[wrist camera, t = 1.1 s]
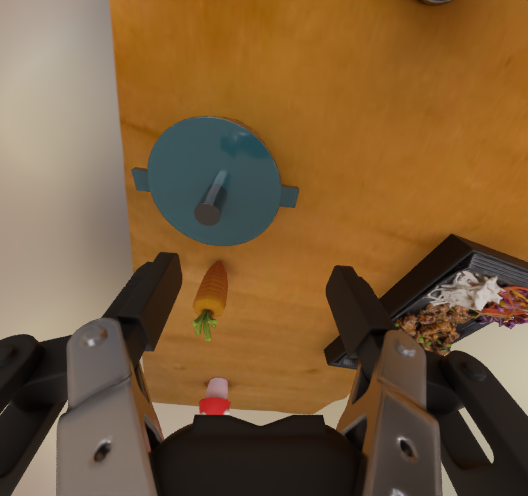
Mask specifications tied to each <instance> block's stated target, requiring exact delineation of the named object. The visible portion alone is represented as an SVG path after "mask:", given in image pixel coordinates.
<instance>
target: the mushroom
mask: <svg viewBox="0 0 528 496" xmlns="http://www.w3.org/2000/svg"><path fill="white" fill-rule="evenodd" d="M227 395H228V382H227V380H226V379H224V378H212V379H211V380H210V382H209V385H208V388H207V391H206V399H202V400H200V402H199V410H200V414H201V415H230V411H229V407H230V403H231V402H229V401H228V400H227V399H226V398H227Z"/></svg>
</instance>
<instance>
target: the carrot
mask: <svg viewBox="0 0 528 496" xmlns="http://www.w3.org/2000/svg"><path fill="white" fill-rule="evenodd" d="M227 290H228V281H227V273H226V270H225V268H224V266H223V264H222V262H216V263H215V264H213V265H212V266H211V267H210V268H209V270H208V271H207V273H206V275H205V276H204V278H203V280H202V282H201V285H200V287H199V290H198V292H197V295H196V297H195V300H194V303H193V309H194V311H195V312H196V313H197V314H198V315H199V317H198V318H197V319H196V320H194V321H193V323H192V325H193V326H196V330H195V333H196V334H197V335H200V333H201V327H202V323H203V320H204V334H205V338H206V341H210V340H211V339H212V338H211V333H210V329H209V323H210V324H211V326H212V327H213V328H215V327H216V325H215V324H216V323H217V320H216V319H213V318H214V317H218V316H220V315H221V313H222V312H223V310H224V308H225V306H226V299H227Z"/></svg>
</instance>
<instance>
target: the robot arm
mask: <svg viewBox="0 0 528 496" xmlns="http://www.w3.org/2000/svg"><path fill="white" fill-rule="evenodd" d="M419 1H421V2H423V3H425V4H428V5H440V4H444V3H448V2H450V1H452V0H419ZM181 285H182V272H181V266H180V260H179V256H178V254H177V253H166V252H160V253H159V254H158V255H157V257H156V258H155V260H154V261H153V262H147V263H145V264H144V265H142V266H141V267H140V268H138V269H137V270H136V272H135V273H134V274H133V276H132V277H131V279H130V280H129V281H128V283H127V284H126V287H124V288H123V289H122V291H121V292H120V293H119V295H118V296H117V297H116V299H115V300H114V301H113V303H112V304H111V305H110V307H109V308H108V310H107V311H106V312H105V314H104V315H103V316H102V317H101V318H100V319H96V320H93V321H91V322H89V323H87V324H85V325H83V326H82V327H80V328H79V329H78V330H77V331H76V332H75V333H74V334H73V335H69V336H65V337H60V338H56V339H51V340H47V341H43V342H38V341H37V340H36V339H35V338H34V337H33V336H30V335H26V334H21V335H14V336H10V337H7V338H5V339H2V340H0V413H1V412H2V411H3V410H4V408H5V407H6V406H7V405H8V404H9V405H8V406H7V407H6V409H5V410H4V411H3V413H2V414H1V415H0V496H11V494H12V493H13V491H14V489H15V487H16V486H17V484H18V482H19V481H20V479H21V477H22V476H23V474H24V472H25V471H26V469H27V467H28V465H29V464H30V462H31V461H32V459H33V457H34V455H35V454H36V452H37V450H38V449H39V447H40V445H41V444H42V442H43V440H44V439H45V437H46V435H47V434H48V432H49V430H50V428H51V427H52V425H53V423H54V422H55V420H56V418H57V417H58V415H59V413H60V412H61V410H62V408H63V407H64V405H65V403H66V402H67V400H68V409H67V412H66V413H64V414H62V415H61V417H60V418H59V421H58V425H57V469H56V470H57V471H56V472H57V473H56V476H57V477H56V482H57V483H56V496H442V476H441V475H442V474H441V462H442V464H443V466H444V468H445V470H446V472H447V474H448V476H449V478H450V480H451V482H452V484H453V487H454V488H455V491H456V493H457V495H458V496H528V416H527V415H526V414H525V412H524V411H523V410H522V409H521V408H520V407H519V405H518V404H517V403H516V402H515V400H514V399H513V398H512V397H511V396H510V394H509V393H508V392H507V391H506V390H505V388H504V387H503V386H502V385H501V384H500V383H499V381H498V380H497V379H496V378H495V376H494V375H493V374H492V373H491V371H490V370H489V369H488V368H487V367H486V366H484V364H482V363H481V362H480V361H479V360H477V359H476V358H474V357H473V356H471V355H469V354H467V353H465V352H462V351H457V350H454V351H451V352H450V353H449V354H447V355H446V356H443V355H440V354H437V353H434V352H431V351H428V350H425V349H423V348H422V347H421V346H420V344H419V343H418V342H417V341H416V340H415V339H413V338H412V337H411V336H409V335H408V334H406V333H404V332H401V331H398V329H397V328H396V326H395V325H394V323H393V322H392V320H391V318H390V317H389V315H388V314H387V312H386V310H385V309H384V307H383V306H382V304H381V302H379V299H378V298H377V296H376V295H375V294H374V291H373V290H372V288H371V286H370V285H369V284H368V283H367V282H366V281H365V280H364V279H363V278H362V277H358V276H357V274H356V272H355V270H354V269H353V267H351V266H340V265H336V266H335V267H334V269H333V271H332V274H331V276H330V278H329V281H328V283H327V286H326V297H327V300H328V303H329V305H330V308H331V311H332V314H333V317H334V319H335V322H336V325H337V328H338V330H339V333H340V336H341V339H342V342H343V344H344V347H345V350H346V353H347V355H348V358H358V359H359V362H360V365H359V366H358V369H357V372H356V376H355V379H354V382H353V386H352V389H351V393H350V396H349V400H348V403H347V406H346V408H345V411H344V412H343V414H342V416H341V418H340V420H339V423H338V425H337V428H336V430H335V429H334V428H332V427H330V426H328V425H325V422H324V418H323V415H292V416H289V417H286V418H283V419H280V420H277V421H275V422H272V423H269V424H266V425H263V426H258V425H255V424H252V423H249V422H247V421H244V420H241V419H238V418H235V417H232V416H230V415H195V416H194V421H193V423H192V424H190V425H187V426H185V427H183V428H181V429H179V430H177V431H176V432H174V433H172V434H171V435H170V436H168V437H167V438H166V439H165V440H164V437H163V434H162V430H161V427H160V424H159V421H158V418H157V416H156V413H155V411H154V408H153V405H152V402H151V399H150V395H149V392H148V388H147V385H146V381H145V378H144V374H143V371H142V367H141V364H140V361H139V360H140V358H141V356H142V354H143V352H144V351H154V350H155V347H156V345H157V343H158V340H159V338H160V335H161V333H162V331H163V328H164V326H165V324H166V321H167V319H168V317H169V314H170V312H171V310H172V307H173V305H174V303H175V300H176V298H177V295H178V293H179V291H180V288H181ZM464 407H465V408H466V410H467V411H468V413H469V414H470V416H471V417H472V419H473V420H474V422H475V423H476V425H477V427H478V428H479V430H480V431H481V433H482V434H483V436H484V437H485V439H486V441H487V442H488V444H489V445H490V447H491V449H492V451H493V455H494V462H493V463H491V462H490V461H489V459H488V458H487V456H486V455H485V453H484V451H483V450H482V448H481V447H480V445H479V443H478V442H477V440H476V438H475V437H474V435H473V434H472V432H471V430H470V429H469V427H468V425H467V424H466V422H465V421H464V419H463V417H462V416H461V414H460V412H459V411H458V410H459V409H462V408H464Z"/></svg>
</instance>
